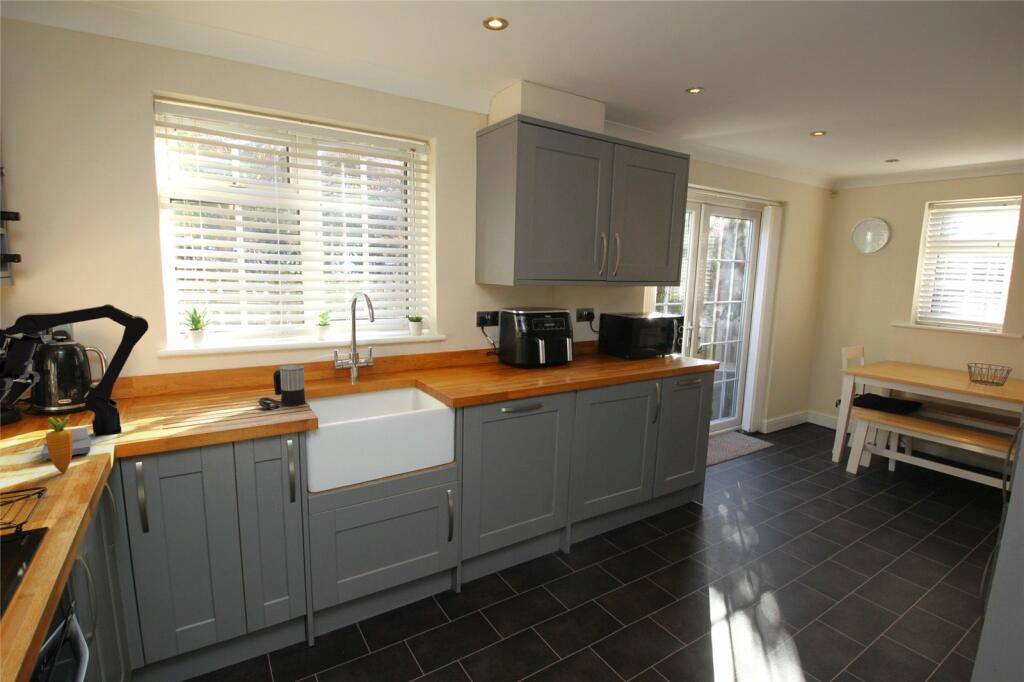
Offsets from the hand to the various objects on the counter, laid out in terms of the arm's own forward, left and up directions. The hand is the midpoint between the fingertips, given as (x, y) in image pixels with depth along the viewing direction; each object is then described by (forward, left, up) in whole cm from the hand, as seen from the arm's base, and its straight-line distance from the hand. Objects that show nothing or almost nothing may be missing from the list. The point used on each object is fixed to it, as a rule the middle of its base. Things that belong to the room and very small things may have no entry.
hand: (0, 407), depth 144 cm
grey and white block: (-15, +18, -12) cm, 26 cm away
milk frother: (-77, -2, -12) cm, 78 cm away
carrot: (-15, +35, -12) cm, 39 cm away
